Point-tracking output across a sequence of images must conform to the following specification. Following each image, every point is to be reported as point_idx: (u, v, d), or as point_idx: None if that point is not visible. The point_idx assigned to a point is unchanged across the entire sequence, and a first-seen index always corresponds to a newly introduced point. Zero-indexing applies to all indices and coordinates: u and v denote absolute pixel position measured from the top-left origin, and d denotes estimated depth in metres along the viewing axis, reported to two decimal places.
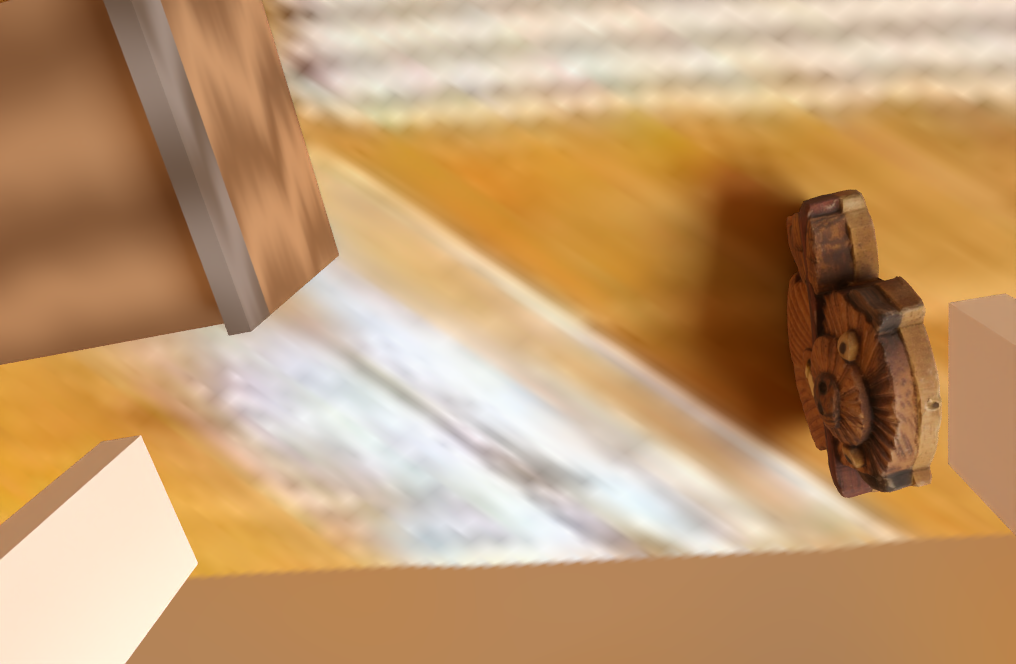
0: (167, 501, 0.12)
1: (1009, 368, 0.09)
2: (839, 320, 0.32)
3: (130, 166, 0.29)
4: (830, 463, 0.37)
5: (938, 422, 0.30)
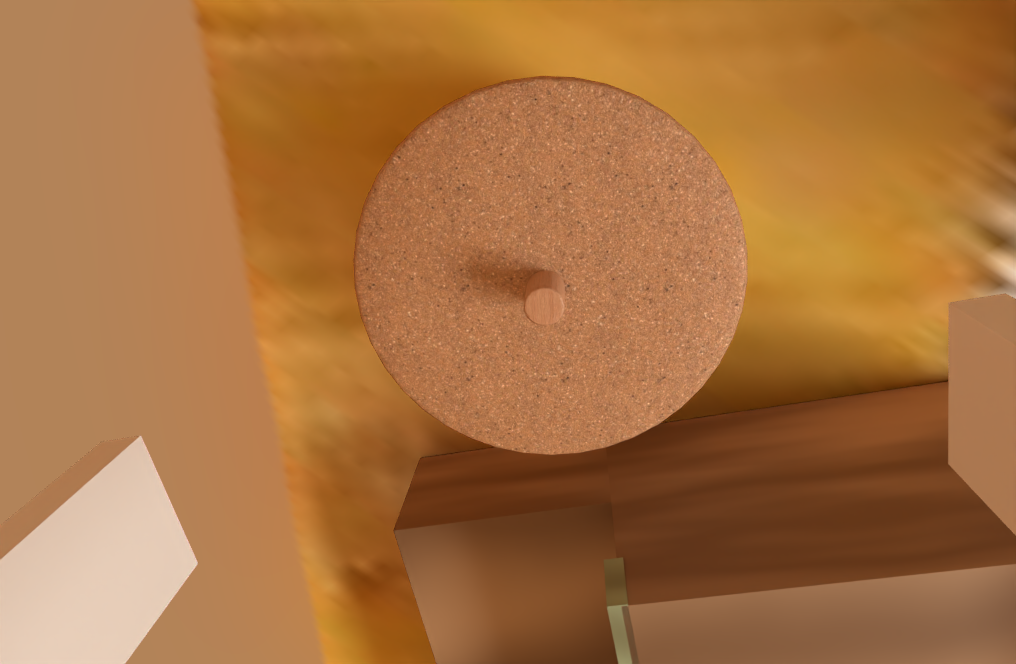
0: (167, 500, 0.12)
1: (1009, 368, 0.09)
2: None
3: None
4: None
5: None
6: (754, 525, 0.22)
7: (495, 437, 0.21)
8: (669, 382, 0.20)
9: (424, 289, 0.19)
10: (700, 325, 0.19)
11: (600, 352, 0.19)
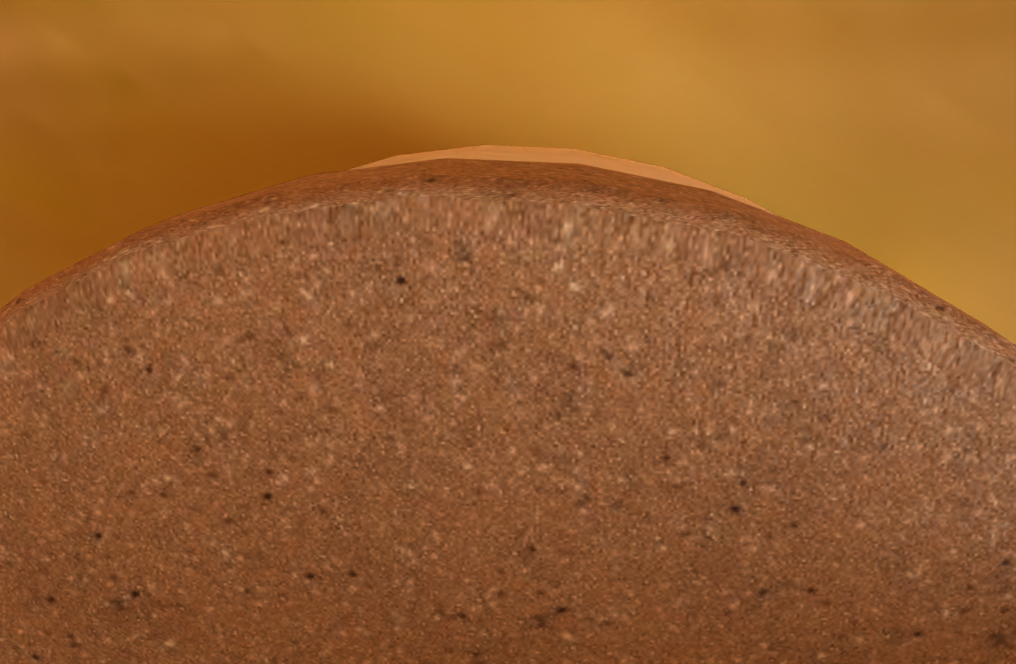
0: None
1: None
2: None
3: None
4: None
5: None
6: None
7: None
8: None
9: None
10: None
11: None
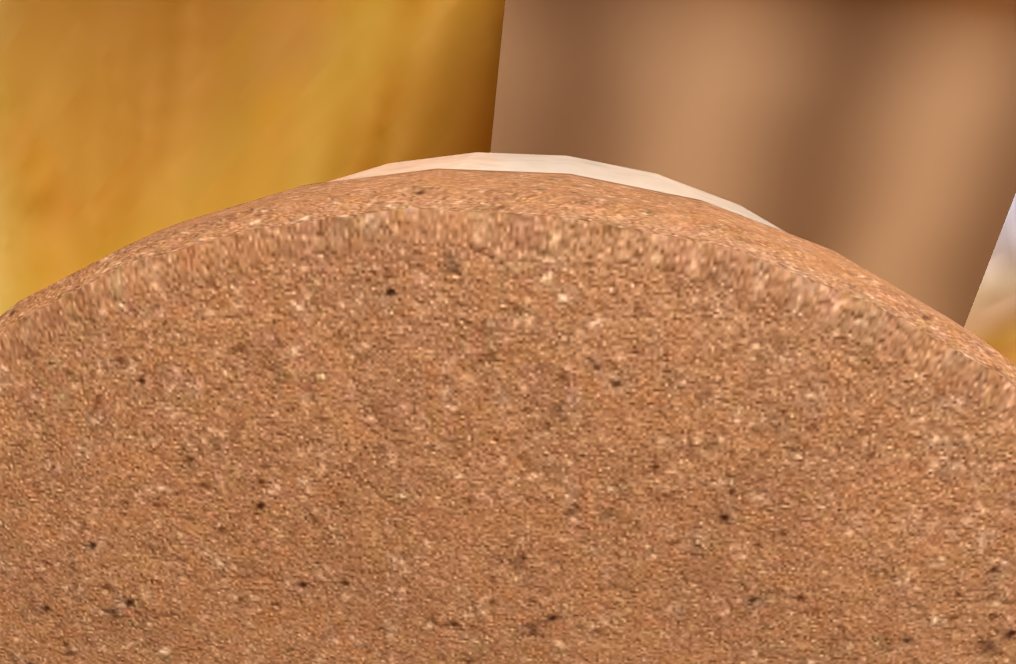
0: None
1: None
2: None
3: (775, 28, 0.18)
4: None
5: None
6: None
7: None
8: None
9: None
10: None
11: None
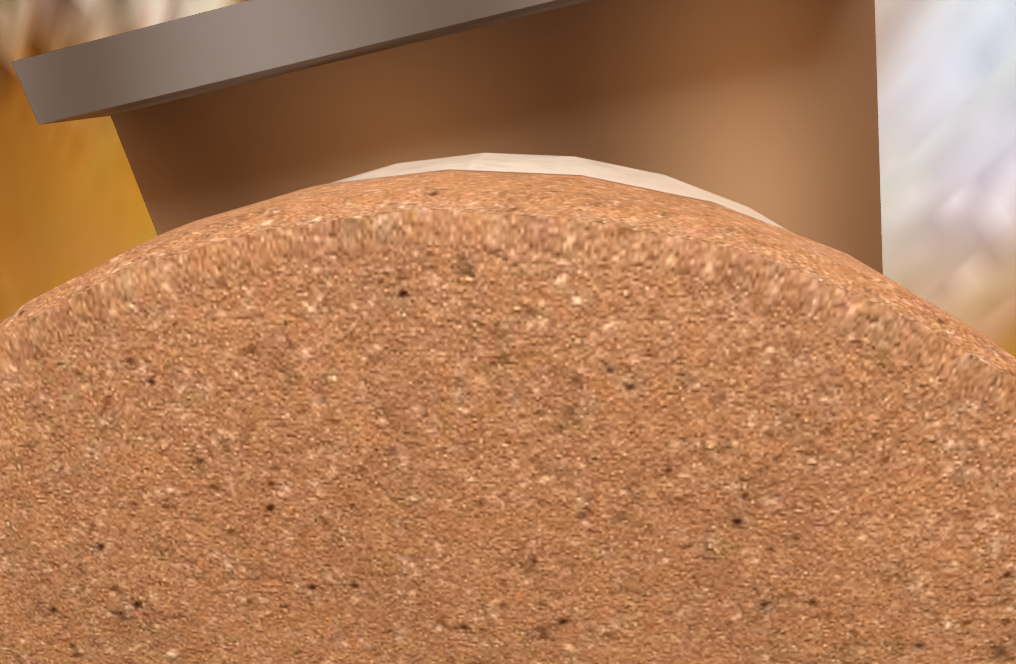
0: None
1: None
2: None
3: None
4: None
5: None
6: None
7: None
8: None
9: None
10: None
11: None
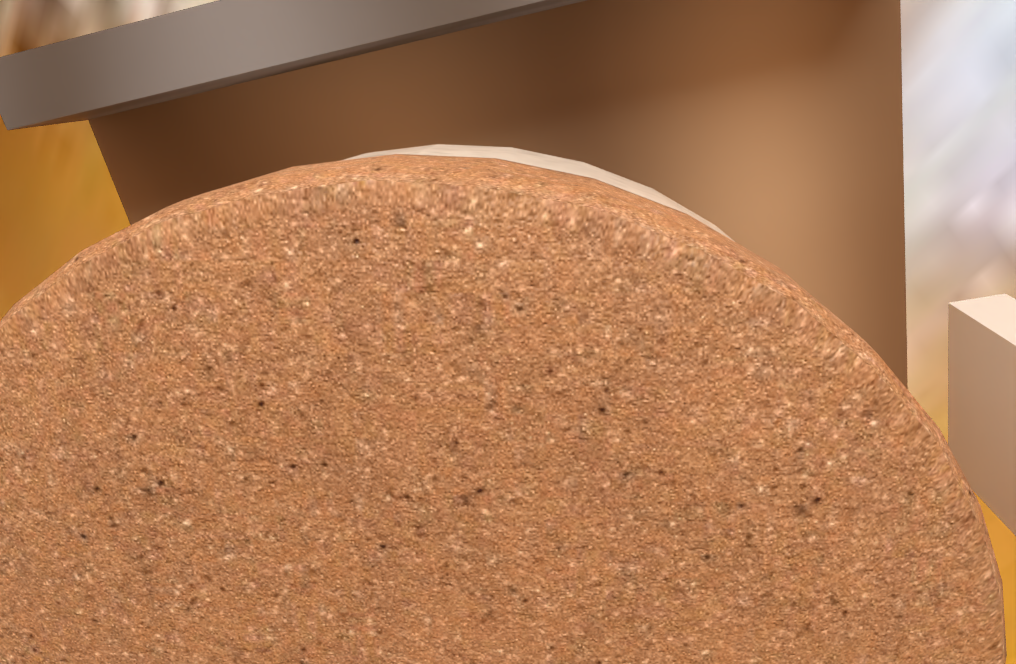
0: None
1: (1009, 369, 0.09)
2: None
3: None
4: None
5: None
6: None
7: None
8: None
9: None
10: None
11: None
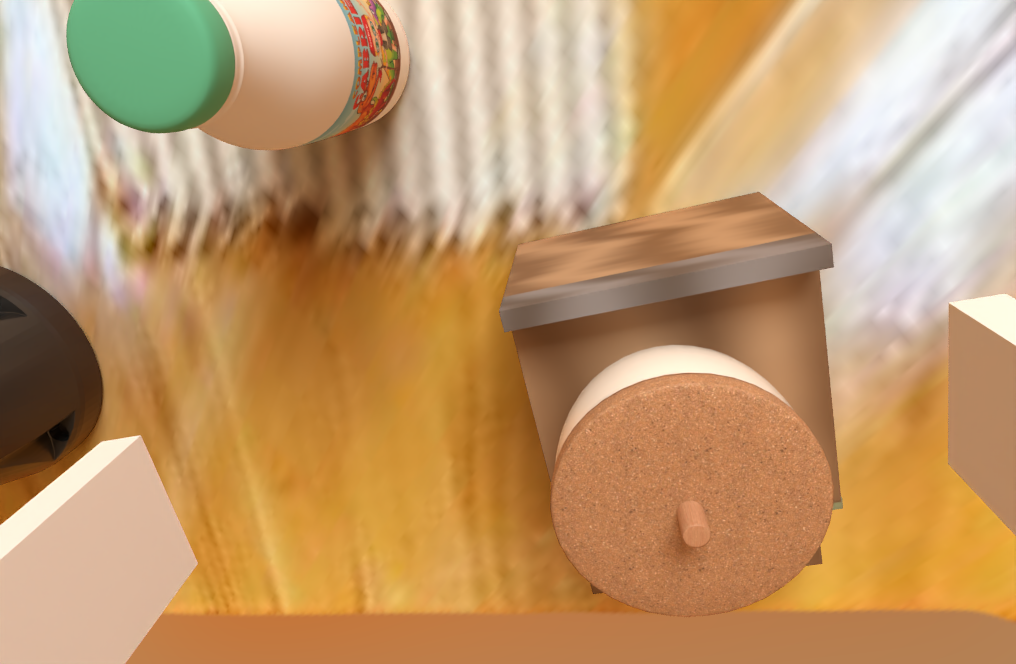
0: (167, 500, 0.12)
1: (1009, 368, 0.09)
2: None
3: (662, 340, 0.33)
4: None
5: None
6: None
7: (647, 605, 0.29)
8: (776, 571, 0.28)
9: (603, 511, 0.27)
10: (800, 535, 0.27)
11: (727, 552, 0.27)
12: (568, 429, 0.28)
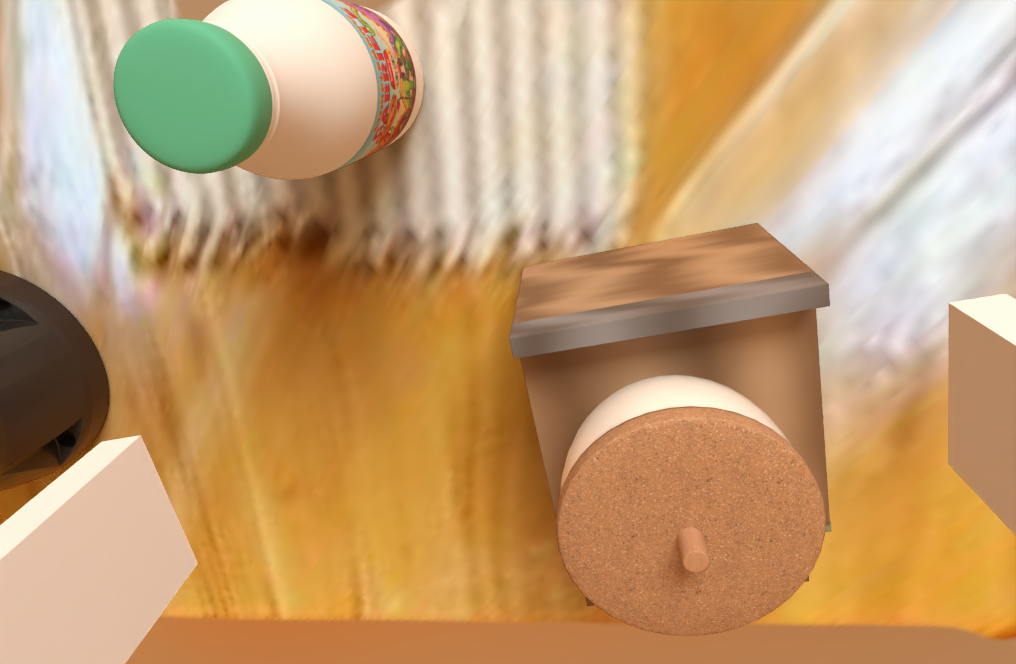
0: (167, 501, 0.12)
1: (1009, 368, 0.09)
2: None
3: (663, 368, 0.34)
4: None
5: None
6: None
7: (645, 625, 0.30)
8: (769, 594, 0.29)
9: (606, 536, 0.29)
10: (793, 561, 0.28)
11: (724, 576, 0.29)
12: (574, 455, 0.30)
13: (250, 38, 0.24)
